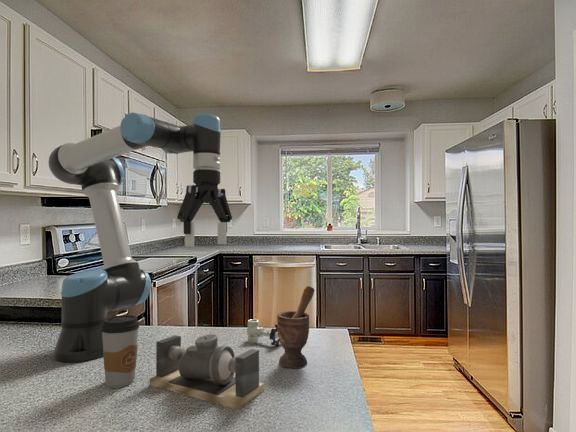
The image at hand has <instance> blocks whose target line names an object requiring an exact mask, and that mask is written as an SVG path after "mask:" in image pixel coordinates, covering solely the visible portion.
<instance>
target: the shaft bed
mask: <svg viewBox="0 0 576 432" xmlns="http://www.w3.org/2000/svg"><path fill="white" fill-rule="evenodd" d="M181 343H182V337H181V335H172V336H169V337H165V338H163V339H160V340H157V341H156V342H155V345H156V347H155V348H156V349H155V350H156V353H155V354H156V355H155V359H156V360H155V361H156V362H155V363H156V364H155V366H156V368H155V369H156V370H155V371H156V372H155V376H152V377H150V378H149V386H150V385H151V387H153V388H158V387H159V388H158V389H161V388H162V390H165V389H167V390H166V391H169V390H170V391H169V392H172V391H174V392H173V393H176V392H177V393H176V394H180V393H181V394H180V395H183V394H184V395H183V396H187V395H188V396H187V397H190V398H191V397H192V398H194V397H195V398H196V399H198V400H202V401H205V402H209V401H210V402H209V403H214V404H216V403H217V405H220V406H225V407H227V408H232V409H235V410H239V409H240V408H242V407H244V405H246V404H247V403H249V402H250V401H251V400H252V399H254V398H256V396H258V395H259V394H261V393H263V392H264V391H265V383H264V382H261V381H260V350H259V349H254V348H250V349H249V350H247V351H245V352H242V353H241V354H239V355H237V356H235V357H233V358H231V359H230V361H229V364H228V369H229V371H230V372H234V375H235V376H233V377H232V379H231V381H230V382H229V383H228V384H227V385H218V384H215V383H214V382H213V381H212V380H211V379H185V378H183V377H181V375H180V373H179V361H180V358H181V356H182V355H183V354H184V353H185V352H186V348H185V347H183V346H182V344H181ZM195 398H194V399H195Z"/></svg>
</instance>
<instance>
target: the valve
mask: <svg viewBox="0 0 576 432" xmlns="http://www.w3.org/2000/svg"><path fill="white" fill-rule="evenodd" d="M259 325H260V319H257V318H253V319H248V320H247V327H246V328H247V329H246V335H247V342H249V343H258V342H259V341H260V338H263V337H268V338H269V340H271V342H270V345H271V346H275V347H279V346H280V339H279V337H278V332H277V325H278V323H277V324H274V328H271V329H270V330H266V329H265V328H264V327H262V326H261V327H260V326H259ZM276 339H277V340H276Z"/></svg>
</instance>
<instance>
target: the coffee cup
mask: <svg viewBox="0 0 576 432" xmlns="http://www.w3.org/2000/svg"><path fill="white" fill-rule="evenodd" d="M139 328H140V321H139V320H138V316H137V315H132V314H121V315H115V316H109V317H107V318H106V319H104V323H103V324H102V329H101V331H102V337H103V356H102V358H103V369H104V379H105V380H104V381H105V384H106V386H107V387H109V388H114V389H115V388H122V387H126V386H130V385H132V384H133V383H134V380H135V379H136V367H137V357H138V347H139V346H138V338H139V337H138V336H139Z"/></svg>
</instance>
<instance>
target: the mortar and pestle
mask: <svg viewBox="0 0 576 432" xmlns="http://www.w3.org/2000/svg"><path fill="white" fill-rule="evenodd" d="M314 294H315V288H314V287H311V286H310V285H309V286H308V285H307V286H306V287H305V288H304V289H303V291H302V294H301V298H300V301H299V304H298V306H297V309H296V310H295V311H293V310H292V311H291V310H290V311H281V312H279V313H277V314H276V316H277V317H276V318H277V319H276V323H277V333H278V337H279V338H278V339H280V342H279V345H281V347H282V348H283V350H284V353H282V355H280V357H279V361H278V364H279V366H280V367H281V368H288V369H300V368H303V367H304V366H306V365H307V364H308V361H307V358H306V356H305V355H304V354H303V353H302V350H303V348H304V347H305V346H306V345H307V342H308V339H309V334H310V315H309V314H308V312H306V310H307V308H308V306H309V304H310V302H311V301H312V300H313V297H314Z"/></svg>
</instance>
